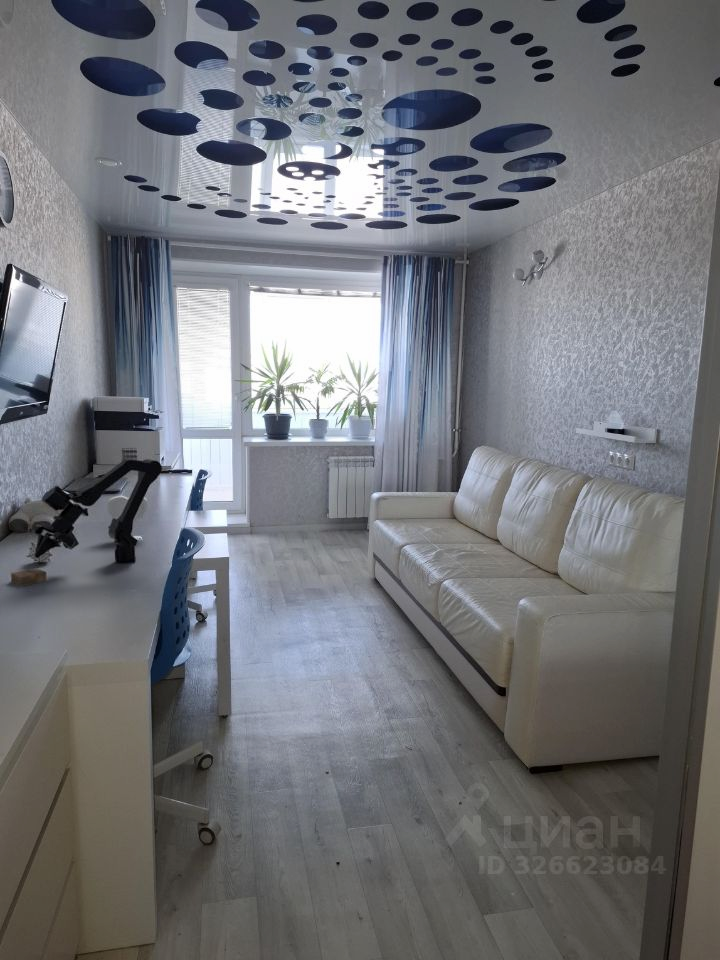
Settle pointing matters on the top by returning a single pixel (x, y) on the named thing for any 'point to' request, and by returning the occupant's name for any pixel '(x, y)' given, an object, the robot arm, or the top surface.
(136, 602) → the top surface
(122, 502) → the heart sculpture
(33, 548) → the game die
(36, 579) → the walnut block
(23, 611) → the top surface
